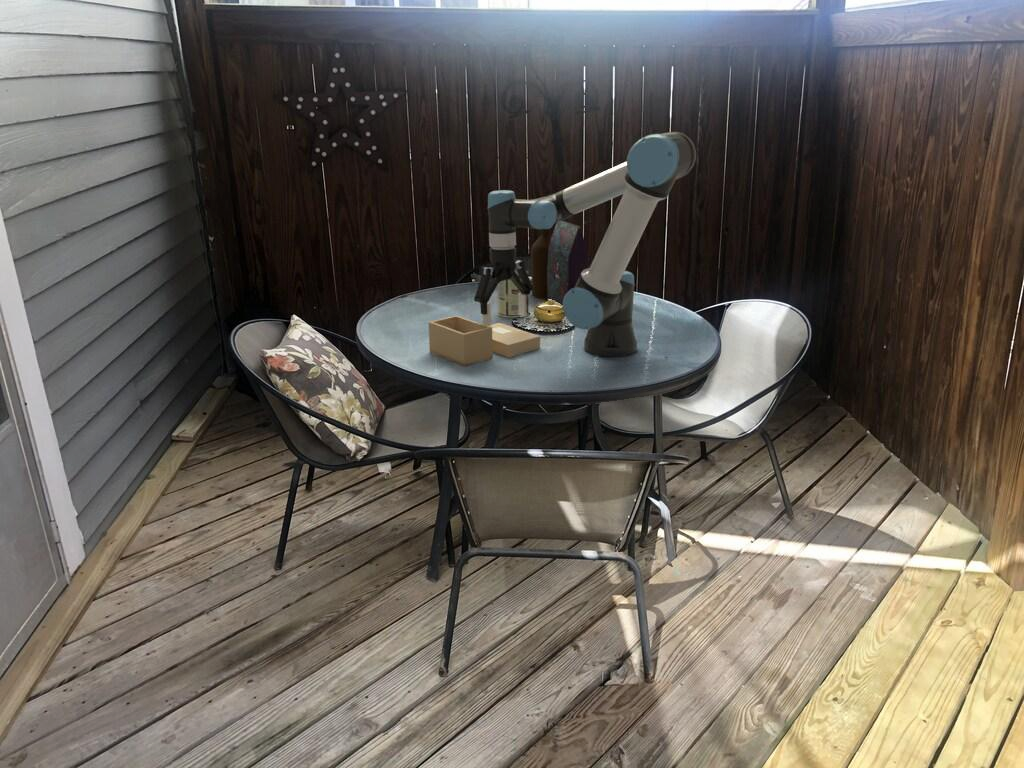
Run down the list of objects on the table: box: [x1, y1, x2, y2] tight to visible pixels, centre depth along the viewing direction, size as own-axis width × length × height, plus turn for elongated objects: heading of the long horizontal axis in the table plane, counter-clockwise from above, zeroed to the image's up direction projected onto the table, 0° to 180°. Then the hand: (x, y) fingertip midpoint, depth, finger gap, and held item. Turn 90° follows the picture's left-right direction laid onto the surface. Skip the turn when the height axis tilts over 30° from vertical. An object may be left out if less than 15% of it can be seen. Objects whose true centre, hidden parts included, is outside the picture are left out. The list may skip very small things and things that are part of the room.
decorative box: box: [546, 220, 590, 305], centre depth 282 cm, size 8×16×28 cm, turn 24°
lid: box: [489, 322, 541, 358], centre depth 245 cm, size 18×12×4 cm
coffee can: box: [497, 269, 530, 319], centre depth 274 cm, size 10×10×14 cm
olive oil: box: [530, 227, 552, 299], centre depth 296 cm, size 11×11×25 cm
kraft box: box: [428, 315, 493, 367], centre depth 236 cm, size 16×10×9 cm, turn 41°
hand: (505, 320), depth 243 cm, fingers open, 13 cm apart
